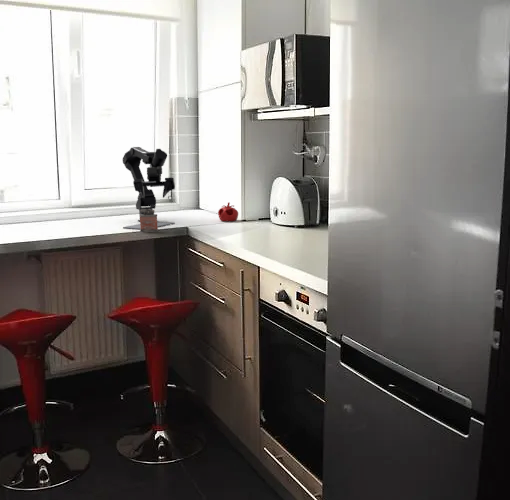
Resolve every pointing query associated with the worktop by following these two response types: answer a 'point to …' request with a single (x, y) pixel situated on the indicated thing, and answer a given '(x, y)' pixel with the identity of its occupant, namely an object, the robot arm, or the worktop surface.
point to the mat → (140, 226)
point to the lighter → (148, 221)
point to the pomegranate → (228, 213)
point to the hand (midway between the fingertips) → (153, 197)
